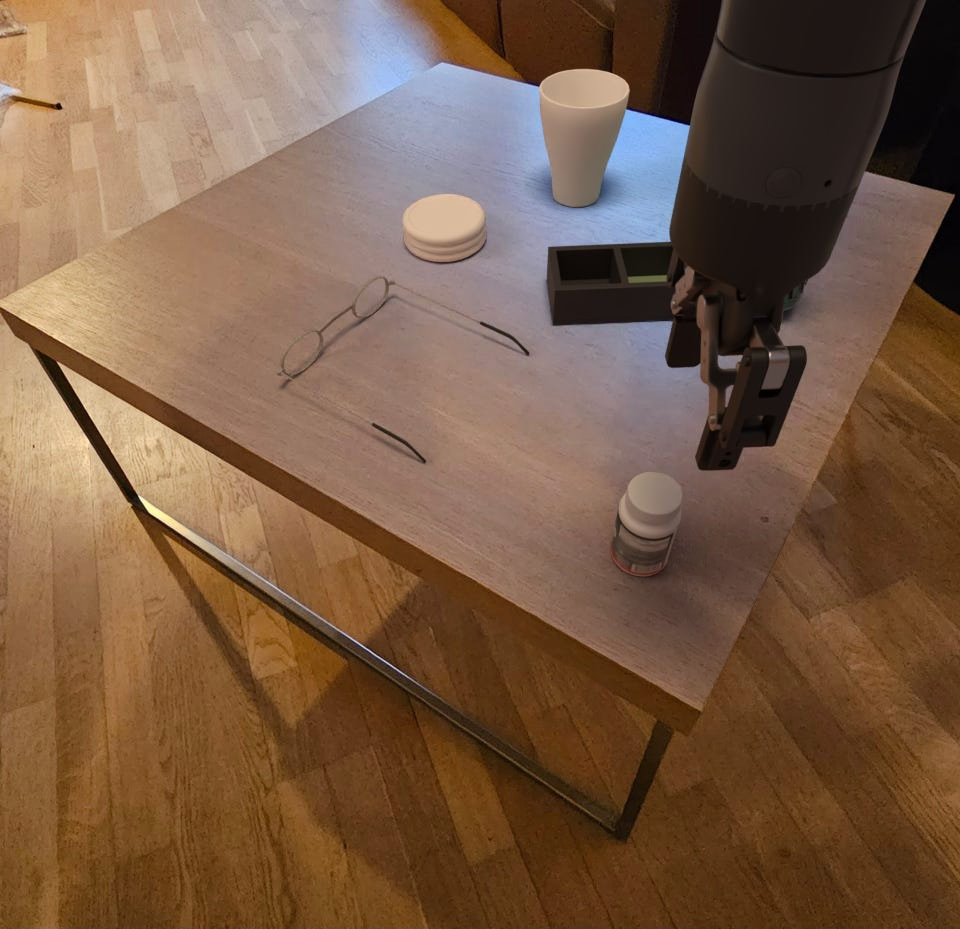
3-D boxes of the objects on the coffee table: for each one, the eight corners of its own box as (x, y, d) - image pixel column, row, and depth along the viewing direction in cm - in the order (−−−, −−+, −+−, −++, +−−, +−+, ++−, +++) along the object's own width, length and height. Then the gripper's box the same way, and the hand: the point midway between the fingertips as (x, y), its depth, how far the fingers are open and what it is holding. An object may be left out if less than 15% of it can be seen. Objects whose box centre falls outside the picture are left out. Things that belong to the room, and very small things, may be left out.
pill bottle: (629, 519, 61) (644, 456, 55) (679, 549, 59) (700, 486, 53) (598, 557, 59) (609, 495, 52) (648, 589, 57) (667, 528, 50)
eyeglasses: (390, 293, 82) (386, 263, 79) (530, 358, 75) (532, 328, 72) (277, 385, 73) (267, 356, 70) (424, 469, 66) (421, 441, 63)
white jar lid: (437, 274, 84) (435, 248, 81) (388, 238, 89) (385, 212, 86) (502, 241, 88) (502, 215, 85) (452, 208, 93) (450, 183, 90)
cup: (614, 219, 90) (628, 110, 80) (531, 214, 91) (534, 106, 81) (617, 176, 97) (631, 70, 86) (539, 172, 98) (543, 67, 88)
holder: (546, 281, 83) (548, 246, 79) (675, 276, 83) (683, 240, 79) (552, 325, 78) (554, 290, 74) (690, 319, 78) (698, 284, 74)
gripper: (931, 243, 27) (795, 502, 39) (806, 78, 36) (728, 332, 48) (730, 251, 27) (657, 509, 39) (656, 84, 36) (616, 337, 48)
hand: (696, 411), depth 44 cm, fingers open, 8 cm apart
